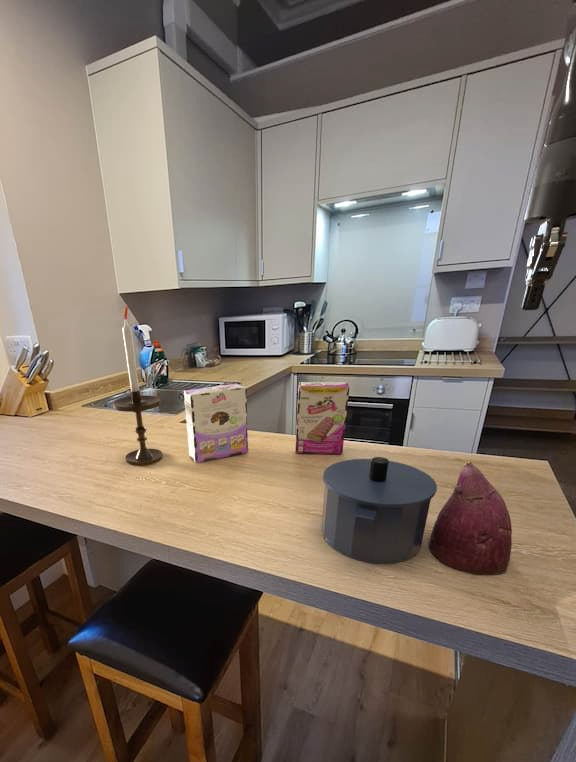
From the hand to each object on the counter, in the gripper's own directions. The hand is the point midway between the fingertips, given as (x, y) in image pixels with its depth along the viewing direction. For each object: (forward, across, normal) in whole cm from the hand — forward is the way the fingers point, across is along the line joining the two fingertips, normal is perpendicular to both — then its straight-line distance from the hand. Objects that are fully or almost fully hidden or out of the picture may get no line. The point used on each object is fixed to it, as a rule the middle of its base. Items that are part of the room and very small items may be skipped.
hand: (529, 309), depth 65 cm
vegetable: (+31, -29, +4) cm, 43 cm away
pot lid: (+22, -30, +17) cm, 41 cm away
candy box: (+31, -8, +56) cm, 65 cm away
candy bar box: (+31, +3, +34) cm, 46 cm away
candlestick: (+31, -17, +72) cm, 80 cm away
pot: (+31, -30, +17) cm, 46 cm away
